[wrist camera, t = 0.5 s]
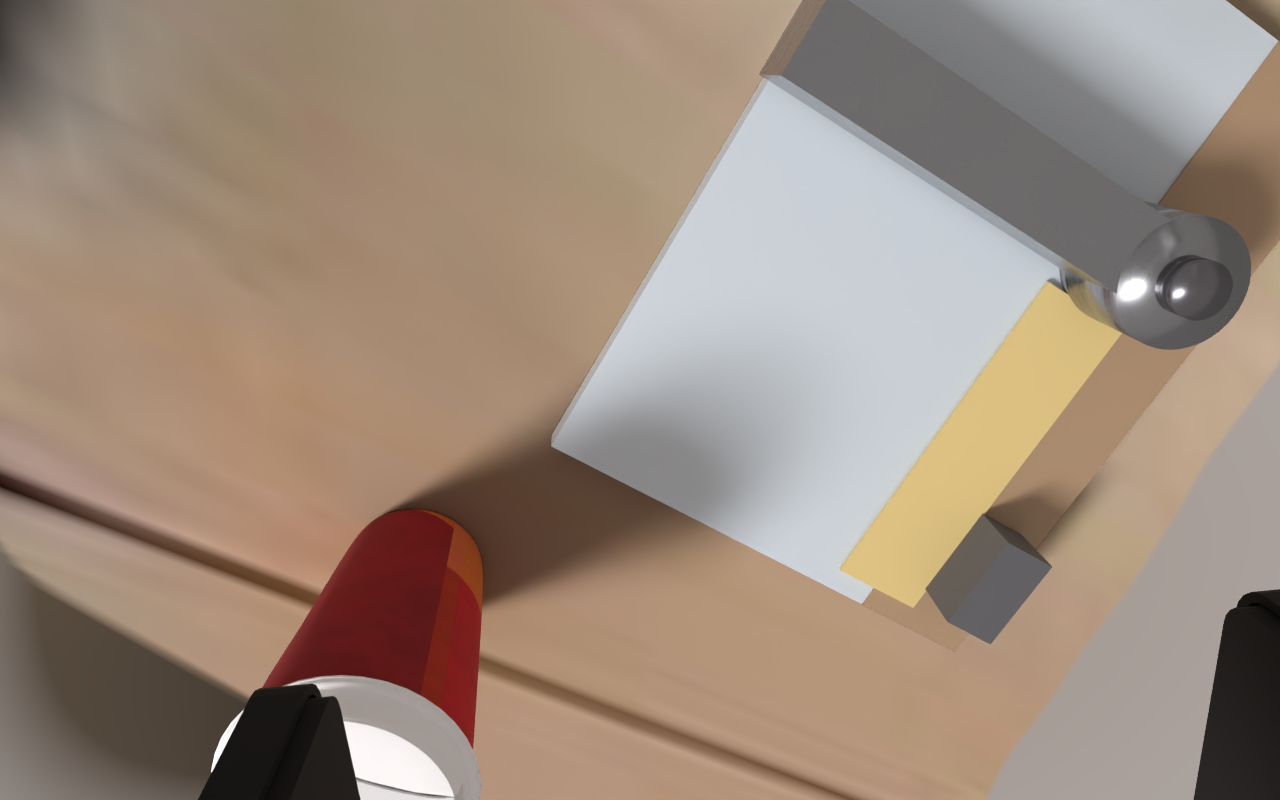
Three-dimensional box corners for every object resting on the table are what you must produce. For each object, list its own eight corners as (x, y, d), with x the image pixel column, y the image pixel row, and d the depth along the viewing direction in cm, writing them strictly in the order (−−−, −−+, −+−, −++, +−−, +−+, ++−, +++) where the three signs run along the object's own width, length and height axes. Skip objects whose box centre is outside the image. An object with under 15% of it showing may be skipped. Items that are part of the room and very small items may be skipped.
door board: (931, -206, 31) (980, -243, 27) (1349, 113, 36) (1441, 119, 32) (551, 434, 38) (549, 476, 34) (943, 634, 42) (979, 690, 38)
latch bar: (1210, 240, 35) (1300, 265, 31) (1131, 343, 36) (1207, 381, 32) (819, -29, 31) (859, -43, 27) (745, 98, 32) (771, 103, 28)
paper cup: (286, 583, 39) (141, 845, 26) (391, 448, 38) (293, 656, 24) (441, 677, 41) (379, 964, 28) (548, 553, 40) (535, 798, 26)
